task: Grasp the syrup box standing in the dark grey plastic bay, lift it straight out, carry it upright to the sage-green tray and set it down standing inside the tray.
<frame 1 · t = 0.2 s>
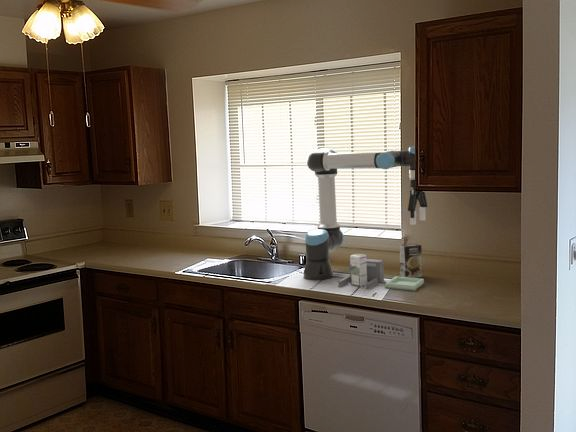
hand: (417, 222, 294), 28 cm above the worktop, fingers open, 13 cm apart
coffee box: (411, 277, 302), on the worktop
bay: (359, 284, 291), on the worktop
syrup box: (359, 284, 291), on the worktop
tray: (404, 285, 285), on the worktop
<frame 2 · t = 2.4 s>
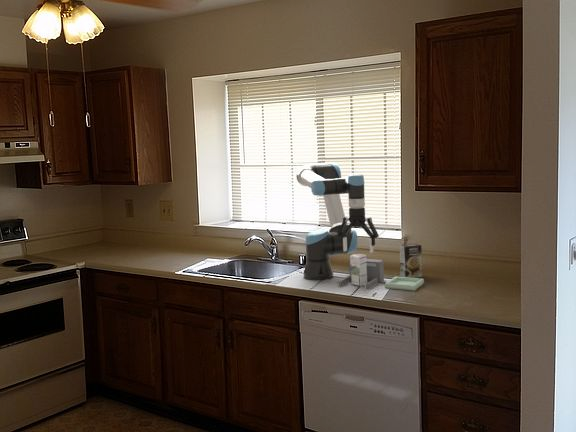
hand: (358, 251, 289), 16 cm above the worktop, fingers open, 13 cm apart
nothing on the worktop moved.
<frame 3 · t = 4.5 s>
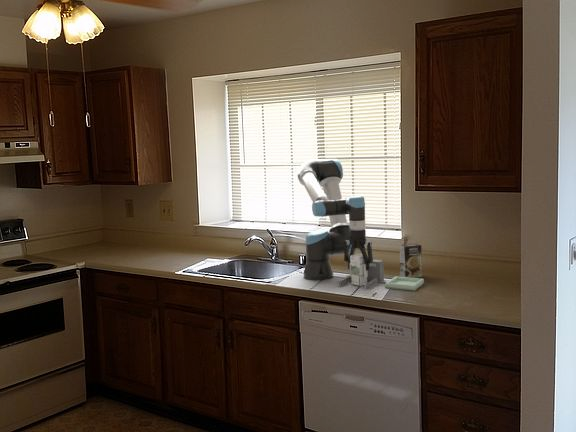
hand: (358, 276, 291), 4 cm above the worktop, fingers closed on syrup box, 7 cm apart
syrup box: (359, 284, 291), on the worktop, touching gripper
everything else where it was.
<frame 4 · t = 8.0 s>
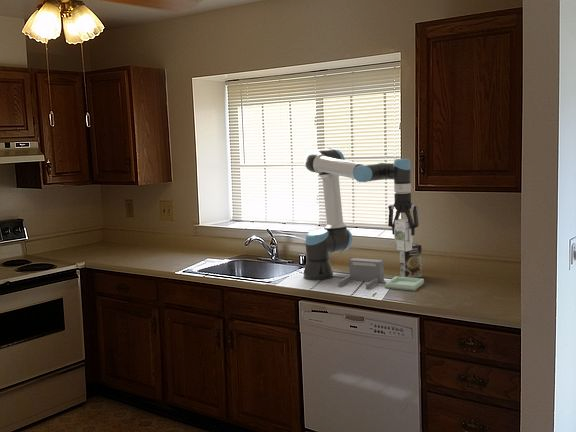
hand: (403, 241, 282), 21 cm above the worktop, fingers closed on syrup box, 6 cm apart
syrup box: (403, 250, 282), point 17 cm above the worktop, touching gripper
everything else where it was.
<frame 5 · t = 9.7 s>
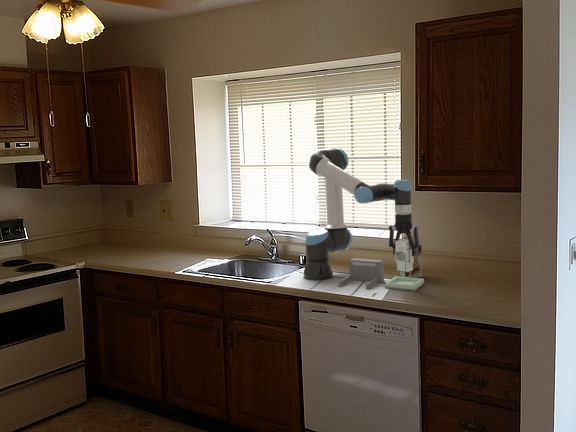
hand: (404, 262, 283), 11 cm above the worktop, fingers closed on syrup box, 6 cm apart
syrup box: (404, 271, 284), point 7 cm above the worktop, touching gripper
everything else where it was.
when the fingers open (6 cm above the worktop, at t = 11.4 s): syrup box drops 2 cm, resting on tray.
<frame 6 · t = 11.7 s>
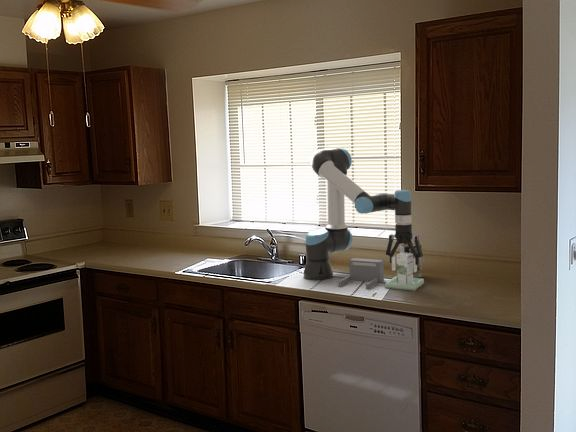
hand: (404, 270, 284), 7 cm above the worktop, fingers open, 10 cm apart
syrup box: (405, 284, 285), point 1 cm above the worktop, touching tray
everything else where it was.
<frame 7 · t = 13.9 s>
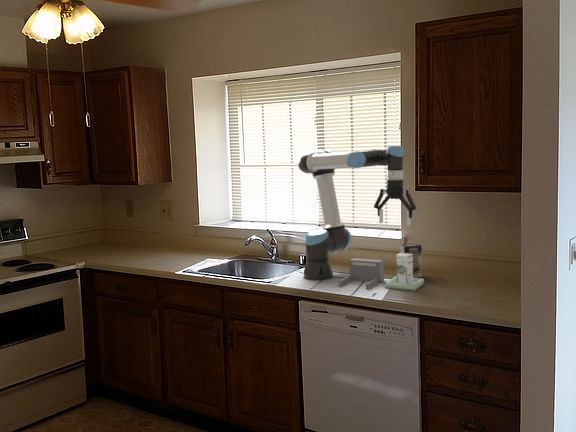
hand: (394, 224, 286), 29 cm above the worktop, fingers open, 13 cm apart
nothing on the worktop moved.
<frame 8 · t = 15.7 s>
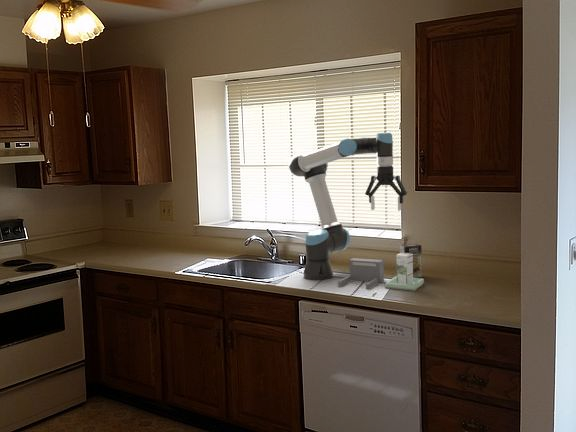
hand: (386, 210, 292), 35 cm above the worktop, fingers open, 13 cm apart
nothing on the worktop moved.
at the end: syrup box inside the target area on the tray (0.2 cm from its centre), point 0.6 cm above the tray's base; syrup box tilted 0°; the gripper is holding nothing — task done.
